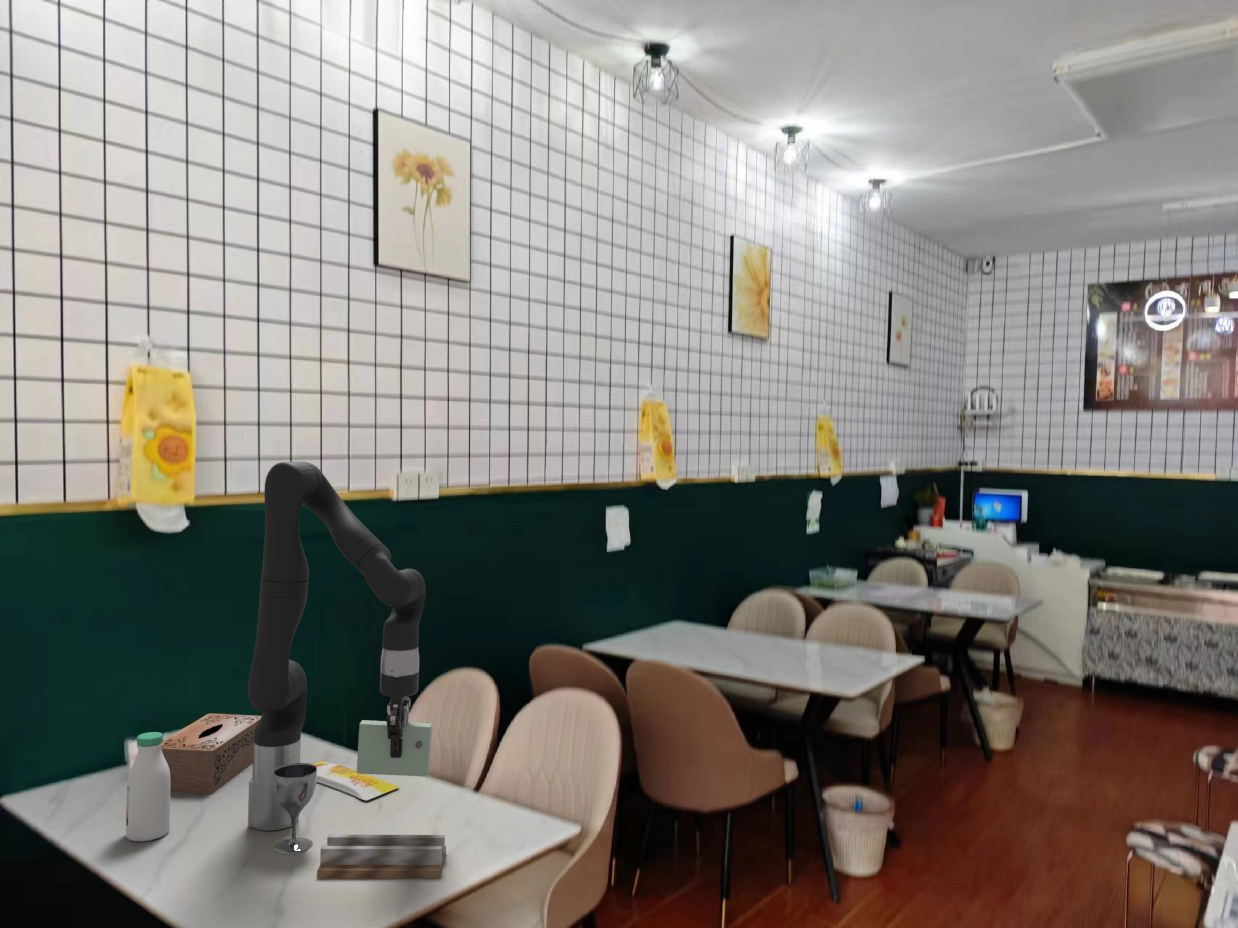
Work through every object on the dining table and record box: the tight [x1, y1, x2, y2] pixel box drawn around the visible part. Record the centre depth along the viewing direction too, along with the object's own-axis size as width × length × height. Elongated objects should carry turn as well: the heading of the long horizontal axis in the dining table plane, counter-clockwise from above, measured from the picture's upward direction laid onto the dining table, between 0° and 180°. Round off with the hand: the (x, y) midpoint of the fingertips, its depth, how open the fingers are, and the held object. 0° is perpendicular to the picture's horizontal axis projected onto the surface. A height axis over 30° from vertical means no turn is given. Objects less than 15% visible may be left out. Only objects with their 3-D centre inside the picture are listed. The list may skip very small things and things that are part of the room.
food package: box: [312, 760, 400, 802], centre depth 207 cm, size 27×2×10 cm
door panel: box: [356, 719, 433, 777], centre depth 178 cm, size 14×3×10 cm, turn 94°
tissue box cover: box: [161, 712, 262, 795], centre depth 211 cm, size 26×14×10 cm, turn 177°
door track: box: [316, 834, 447, 879], centre depth 167 cm, size 22×10×4 cm, turn 94°
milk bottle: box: [125, 731, 171, 842], centre depth 177 cm, size 8×8×20 cm
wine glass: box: [273, 762, 317, 855], centre depth 174 cm, size 8×8×15 cm
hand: (397, 754), depth 179 cm, fingers closed on door panel, 2 cm apart
